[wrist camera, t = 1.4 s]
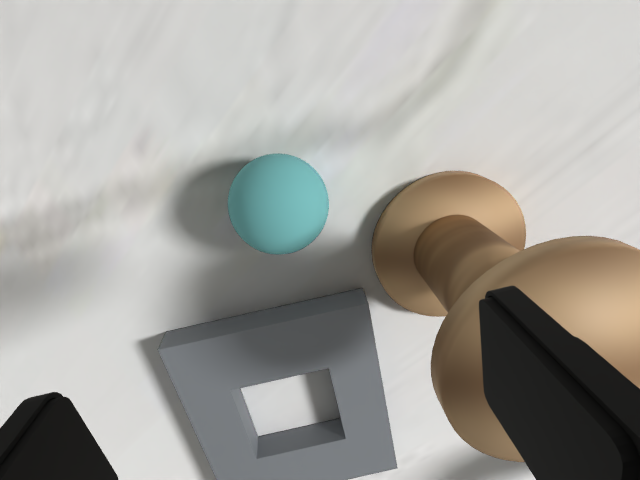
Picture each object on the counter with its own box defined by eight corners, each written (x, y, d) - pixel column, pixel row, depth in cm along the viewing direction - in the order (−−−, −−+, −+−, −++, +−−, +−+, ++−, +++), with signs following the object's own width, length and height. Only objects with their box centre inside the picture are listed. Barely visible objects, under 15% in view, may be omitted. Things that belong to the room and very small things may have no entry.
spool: (360, 189, 24) (431, 285, 13) (515, 155, 24) (723, 220, 13) (382, 320, 28) (450, 483, 17) (515, 290, 28) (675, 432, 17)
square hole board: (166, 331, 27) (157, 350, 25) (362, 288, 27) (368, 303, 25) (231, 482, 33) (228, 506, 31) (391, 446, 33) (397, 468, 31)
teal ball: (222, 157, 23) (205, 179, 18) (313, 137, 23) (322, 152, 18) (247, 241, 25) (238, 282, 20) (331, 222, 25) (343, 258, 20)
